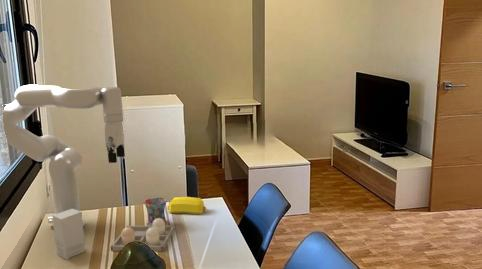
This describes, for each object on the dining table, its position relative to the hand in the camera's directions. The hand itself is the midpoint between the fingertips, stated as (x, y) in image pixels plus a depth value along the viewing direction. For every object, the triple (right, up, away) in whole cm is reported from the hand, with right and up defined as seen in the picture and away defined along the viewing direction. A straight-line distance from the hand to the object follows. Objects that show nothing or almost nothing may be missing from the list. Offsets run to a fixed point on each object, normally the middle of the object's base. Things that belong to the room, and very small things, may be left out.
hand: (116, 159), depth 189 cm
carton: (+14, -31, -11) cm, 35 cm away
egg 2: (+19, -29, -7) cm, 35 cm away
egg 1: (+9, -31, -16) cm, 36 cm away
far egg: (+18, -31, -16) cm, 39 cm away
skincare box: (-11, -33, -20) cm, 41 cm away
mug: (+16, -28, +5) cm, 32 cm away
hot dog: (+26, -25, +19) cm, 41 cm away
